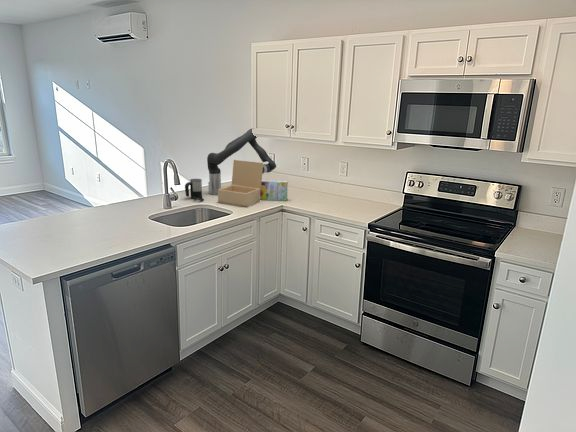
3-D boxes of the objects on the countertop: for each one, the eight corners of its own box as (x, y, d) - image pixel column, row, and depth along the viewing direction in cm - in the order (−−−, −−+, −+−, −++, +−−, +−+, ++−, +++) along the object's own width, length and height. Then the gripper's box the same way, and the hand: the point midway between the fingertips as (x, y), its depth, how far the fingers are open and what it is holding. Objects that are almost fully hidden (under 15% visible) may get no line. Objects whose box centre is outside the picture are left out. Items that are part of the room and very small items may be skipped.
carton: (218, 202, 294) (217, 189, 291) (232, 197, 310) (232, 185, 308) (246, 207, 284) (246, 193, 281) (259, 201, 300) (259, 188, 297)
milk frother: (196, 196, 312) (195, 177, 307) (211, 198, 304) (211, 180, 300) (183, 199, 300) (182, 180, 295) (199, 202, 292) (198, 183, 288)
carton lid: (233, 159, 305) (234, 160, 306) (231, 184, 308) (232, 184, 309) (262, 163, 294) (263, 163, 296) (260, 188, 297) (261, 188, 298)
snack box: (287, 199, 309) (287, 180, 304) (286, 201, 303) (287, 182, 299) (261, 198, 311) (261, 179, 306) (259, 199, 305) (259, 181, 301)
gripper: (253, 164, 322) (242, 167, 307) (267, 165, 316) (257, 168, 301) (253, 173, 324) (242, 176, 309) (267, 175, 319) (257, 178, 304)
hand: (249, 172), depth 305 cm, fingers closed
